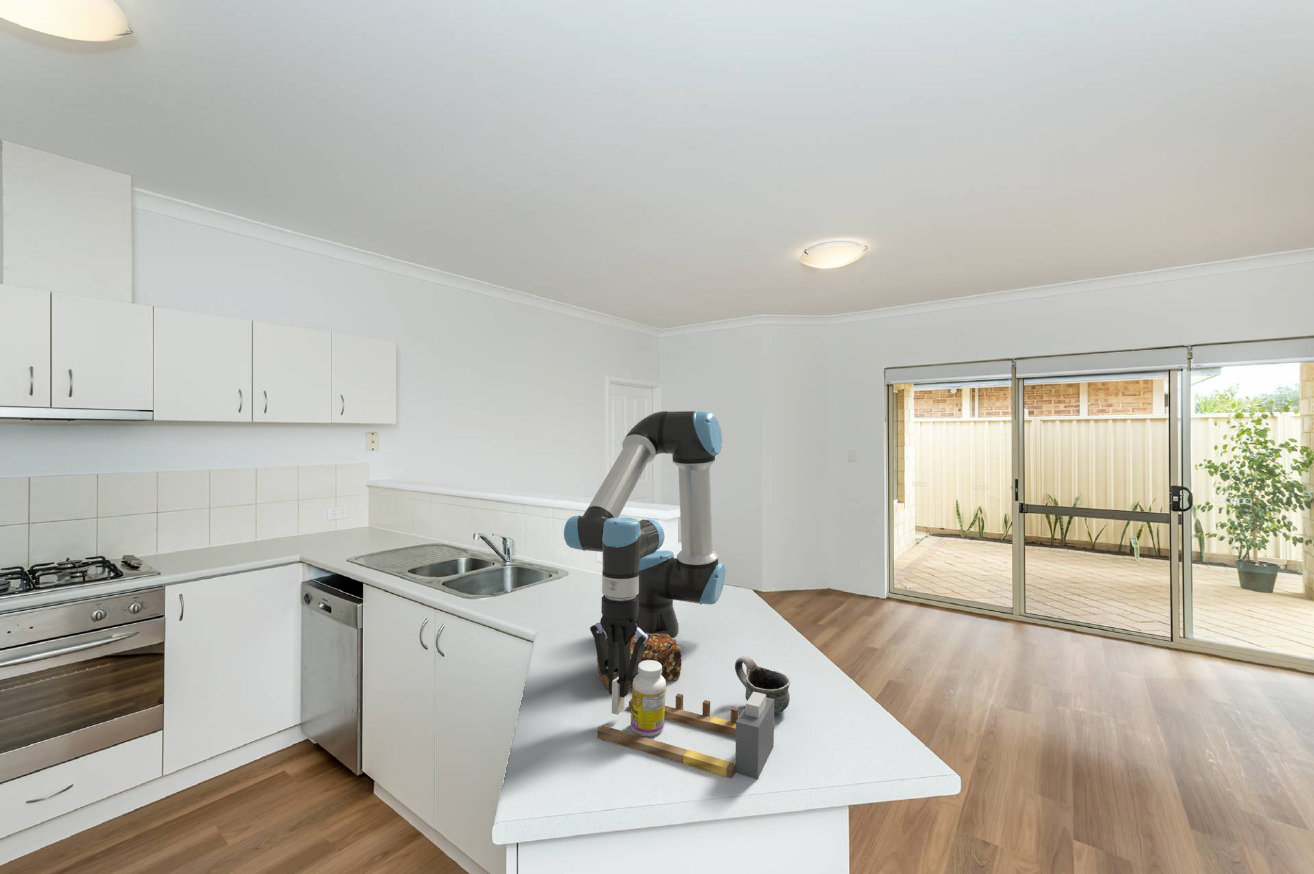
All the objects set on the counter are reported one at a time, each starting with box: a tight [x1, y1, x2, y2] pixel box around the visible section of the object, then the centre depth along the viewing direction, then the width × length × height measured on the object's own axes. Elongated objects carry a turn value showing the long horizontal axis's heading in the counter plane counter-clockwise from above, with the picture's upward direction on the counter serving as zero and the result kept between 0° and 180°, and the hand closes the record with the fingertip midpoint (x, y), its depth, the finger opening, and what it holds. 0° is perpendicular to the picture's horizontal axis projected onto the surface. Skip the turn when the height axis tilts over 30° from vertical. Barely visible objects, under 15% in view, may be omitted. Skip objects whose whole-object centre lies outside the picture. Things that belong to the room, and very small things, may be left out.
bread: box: [596, 633, 683, 690], centre depth 132 cm, size 19×11×10 cm, turn 109°
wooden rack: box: [596, 693, 739, 779], centre depth 107 cm, size 27×16×4 cm, turn 64°
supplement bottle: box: [630, 660, 667, 737], centre depth 109 cm, size 7×7×13 cm
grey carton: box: [733, 692, 775, 780], centre depth 100 cm, size 4×11×11 cm, turn 154°
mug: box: [734, 655, 791, 716], centre depth 118 cm, size 10×12×10 cm
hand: (618, 710), depth 112 cm, fingers closed
